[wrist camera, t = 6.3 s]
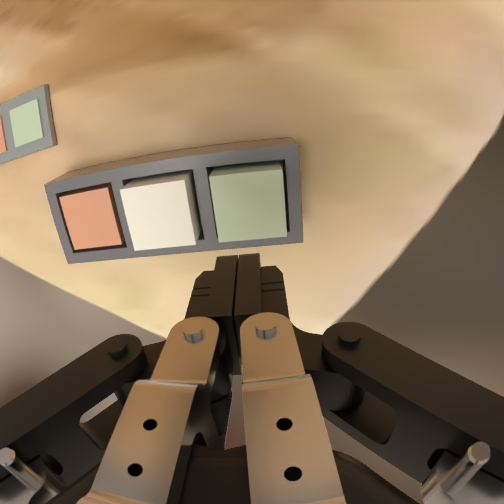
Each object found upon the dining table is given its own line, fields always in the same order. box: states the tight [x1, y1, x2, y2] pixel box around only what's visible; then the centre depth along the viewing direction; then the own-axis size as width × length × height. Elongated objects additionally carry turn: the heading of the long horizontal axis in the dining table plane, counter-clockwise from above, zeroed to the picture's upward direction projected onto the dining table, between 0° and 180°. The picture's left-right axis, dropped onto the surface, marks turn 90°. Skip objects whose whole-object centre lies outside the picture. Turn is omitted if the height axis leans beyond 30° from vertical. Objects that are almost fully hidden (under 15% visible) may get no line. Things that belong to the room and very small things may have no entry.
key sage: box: [209, 161, 287, 243], centre depth 19 cm, size 4×4×2 cm
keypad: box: [44, 138, 303, 264], centre depth 21 cm, size 6×17×4 cm, turn 96°
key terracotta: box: [59, 182, 125, 250], centre depth 21 cm, size 4×4×2 cm
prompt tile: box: [0, 85, 57, 164], centre depth 20 cm, size 5×9×1 cm, turn 96°
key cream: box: [120, 170, 202, 251], centre depth 20 cm, size 4×4×2 cm
